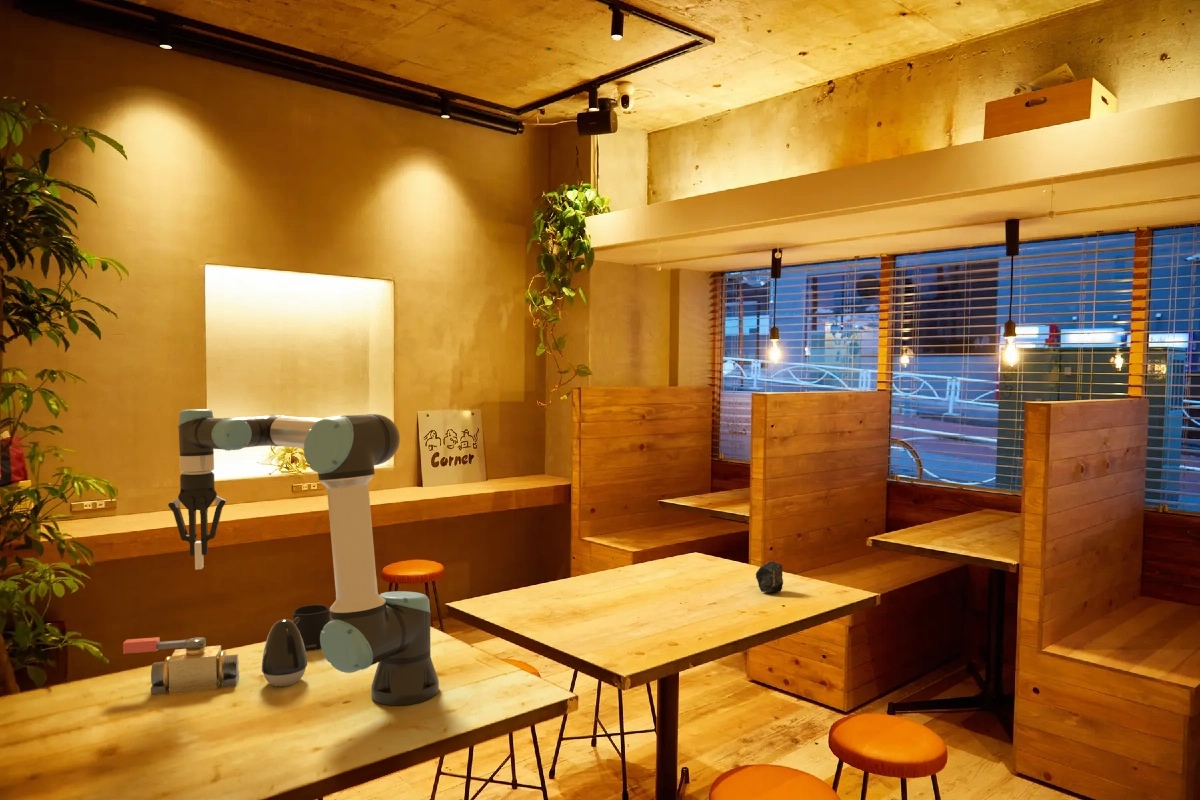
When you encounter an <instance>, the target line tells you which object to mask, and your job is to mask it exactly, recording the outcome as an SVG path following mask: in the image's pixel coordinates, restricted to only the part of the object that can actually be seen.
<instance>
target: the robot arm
mask: <svg viewBox="0 0 1200 800" xmlns="http://www.w3.org/2000/svg"><path fill="white" fill-rule="evenodd" d="M178 413H179V414H178V425H177V428H178V446H179V471H180V473H181V474H180V475H179V486H180V487H179V488H180V489H179V490H180V491H179V494H178V496H177V498H176V499H174V500H171V501H170V502H169V503H168V505H167V506H168V507H169V509H170V510H171V511H172V513H173V517H174V520H175V523H176V526H177V529H178V530H177V531H178V533H179V536H180V539H181V540H182V541H184V542H188V543H189V555H190V556H193V557H194V569H195V571H196V570H203V568H204V567H205V566H204V565H205V564H204V561H205V560H204V559H205V558H204V555H205V556H206V555H208V552H209V541H210V540H213V539H214V538H216V536H217V532H218V528H219V523H220V520H221V516H222V511H223V508H224V507H225V505H226V503H227V502H228V501H227V499H226V498H222V497H221V496H218V493H217V491H216V489H215V488H216V487H215V473H214V472H213V471H214V469H215V457H214V455H215V454H214V453H215V451H214V450H224V451H236V450H237V451H239V450H242V449H245V448H246V449H247V448H253V447H265V446H269V447H270V446H271V447H272V446H273V447H289V448H300V449H303V454H304V459H305V462H306V463H307V464H309V465H308V466H309V468H310V470H312V471H313V472H315V473H317V478H318V482H319V483H320V484H321V485H323V486H324V487H325V488H326V493H327V505H328V516H329V518H328V519H329V526H330V527H329V529H330V539H331V550H332V552H331V553H332V563H333V574H334V575H333V576H334V586H335V587H334V588H335V598H336V599H335V600H334V602H333V603H332V604H331V606H330V607H329V611H330V615H329V622H328V623H327V624H326V625H325V626H324V628H323V630H322V631H321V635H320V644H321V648H322V649H321V652H322V654H323V656H324V658H325V659H326V660H327V662H328V663H330V664H331V666H332V667H333V668H334V669H335V670H337V671H338V672H339V671H340V672H341V673H346V674H351V673H355V672H358V671H364V670H366V669H369V668H370V667H371V666H373V665H375V664H377V666H376V669H375V673H374V676H373V679H372V683H371V688H370V689H371V690H370V691H371V692H370V693H371V695H370V696H371V699H372V700H373V701H374V702H376V703H379V704H381V705H387V706H408V705H414V704H418V703H422V702H425V701H427V700H430V699H432V698H434V696H436V695H437V694H438V693H439V691H440V690H439V689H440V688H439V687H440V686H439V682H440V681H439V677H438V674H437V671H436V668H435V666H434V663H433V660H432V657H431V613H432V611H431V607H430V599H429V598H428V596H427V595H426V594H424V593H421V592H415V591H405V590H403V591H399V590H398V591H396V590H395V591H385V592H382V593H380V594H379V592H378V582H377V581H378V580H377V572H376V571H377V569H376V556H375V547H374V535H373V523H372V512H371V511H372V510H371V500H370V499H371V498H370V489H369V484H370V482H371V481H372V479H373V478H374V477H375V476H376V472H375V466H379V465H381V464H384V463H386V462H388V461H390V460H391V459H392V458H393V457H394V455H396V453H397V451H398V450H399V446H400V441H401V437H400V431H399V429H398V427H397V425H396V424H395V422H394V421H393V420H391V419H390V418H389V417H387V416H385V415H382V414H378V413H367V414H349V415H348V414H347V415H338V414H337V415H334V416H329V417H325V418H323V417H321V418H320V417H306V416H305V417H301V416H299V417H298V416H287V415H283V414H270V415H258V416H240V417H239V416H238V417H235V416H234V417H214V414H213V411H212V409H210V408H198V409H197V408H196V409H195V408H193V409H183V410H180V412H178ZM214 501H215V503H214V505H215V510H214V514H213V517H212V518H213V519H212V522H211V525H210V526H211V528H210V532H209V527H208V526H209V524H208V523H209V522H208V520H209V519H208V518H209V517H208V512H209V511H208V510H209V508H210V506H211V505H212V504H213V502H214ZM181 504H182V505H183V506H184V507H185V508H186V510H187V511H188V530H187V527H186V523H185V520H184V517H183V513H182V510H181V506H182V505H181ZM197 511H199V514H200V540H197V539H198V538H197Z"/></svg>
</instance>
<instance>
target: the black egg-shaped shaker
mask: <svg viewBox="0 0 1200 800" xmlns="http://www.w3.org/2000/svg"><path fill="white" fill-rule="evenodd" d="M299 620H300V618H299V617H296V618H295V619H294V620H293V619H292V620H291V619H287V618H283V619H280V620H277V621H276V622H275V623H274V624H273V625H272V626H271V628H270V630H269V633H268V634H267V638H266V641H265V644H264V648H263V653H262V658H261V672H262V674H263V677H264V678H265V680H266V681H267V682H268V684H270V685H272V686H275V687H288V686H291V685H294V684H296V683H297V682H299V681H300V680H301V679H302V678H303V676H304V674H305V671H306V668H307V666H308V656H307V651H306V650H305V646H304V642H303V639H302V636H301V634H300V632H299V630H298V628H297V626H296V624H297V623H298V622H299Z"/></svg>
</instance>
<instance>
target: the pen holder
mask: <svg viewBox="0 0 1200 800" xmlns="http://www.w3.org/2000/svg"><path fill="white" fill-rule="evenodd" d="M296 617H299V618H300V620H299V622H298V623H297V624H296V626H297V628H298V630H299V632H300V634H301V636H302V639H303V642H304V646H305V650H306V652H311V651H317V650H322V648H321V644H320V635H321V631H322V630H323V628H324V626H325V625H326V624H327V623H328V622H329V621H330V608H328V606H327V605H324V604H310V605H303V606H300V607H297V608H295V609H294V611H293V613H292V621H293V620H294V619H295V618H296Z"/></svg>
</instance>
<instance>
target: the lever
mask: <svg viewBox="0 0 1200 800" xmlns="http://www.w3.org/2000/svg"><path fill="white" fill-rule="evenodd" d="M160 638H161V637H160V636H158V637H157V636H156V637H146V638H145V637H143V638H142V637H141V638H131V639H125V640H124V641H123V643H122V650H123V652H122V653H123V654H124V655H125V654H137V653H150V652H157V651H158V650H167V649H179V648H181V649H182V648H184V649H188V650H193V649H199V648H203V647H207V646H206V639H207V638H206V637H200V636H198V637H191V638H187V639H181V640H177V639H176V640H169V641H168V640H165V641H161V639H160Z"/></svg>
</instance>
